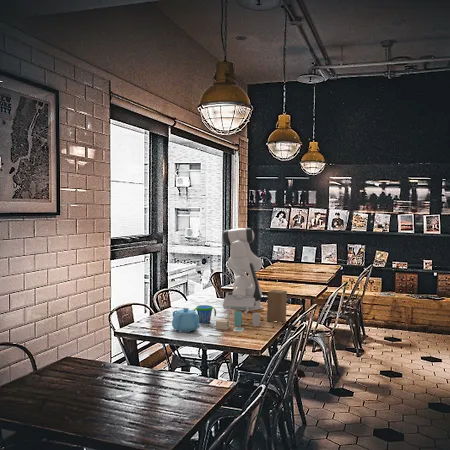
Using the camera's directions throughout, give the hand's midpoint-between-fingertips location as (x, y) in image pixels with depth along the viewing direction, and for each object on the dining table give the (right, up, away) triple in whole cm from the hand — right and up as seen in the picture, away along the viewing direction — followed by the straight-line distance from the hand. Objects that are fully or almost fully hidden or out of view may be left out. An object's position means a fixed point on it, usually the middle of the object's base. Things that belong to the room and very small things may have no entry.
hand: (238, 314), depth 322 cm
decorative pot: (-32, -7, -15) cm, 36 cm away
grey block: (+12, -8, +1) cm, 14 cm away
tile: (0, -8, -11) cm, 13 cm away
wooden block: (+26, -7, +16) cm, 31 cm away
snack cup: (-22, -7, +7) cm, 24 cm away
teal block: (0, -7, 0) cm, 7 cm away
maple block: (-10, -8, -7) cm, 14 cm away
